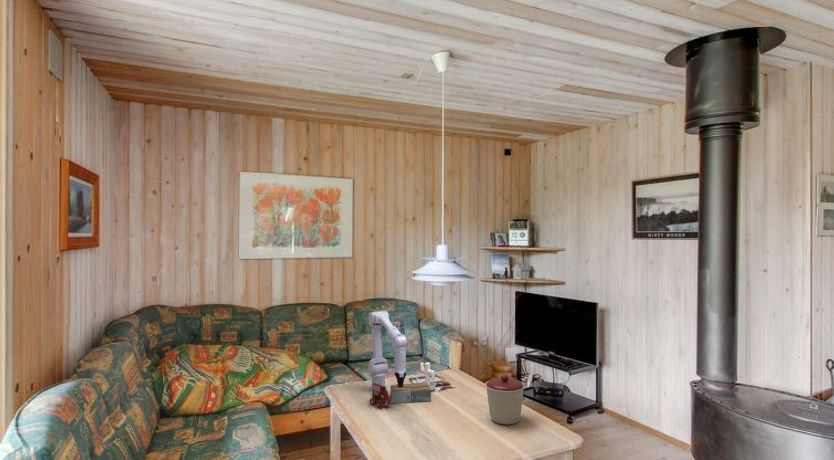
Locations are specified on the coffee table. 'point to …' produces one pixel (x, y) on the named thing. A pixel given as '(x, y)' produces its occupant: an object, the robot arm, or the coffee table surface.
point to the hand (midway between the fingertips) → (400, 387)
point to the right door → (401, 396)
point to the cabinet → (414, 391)
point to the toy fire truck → (379, 396)
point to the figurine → (428, 374)
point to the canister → (505, 399)
